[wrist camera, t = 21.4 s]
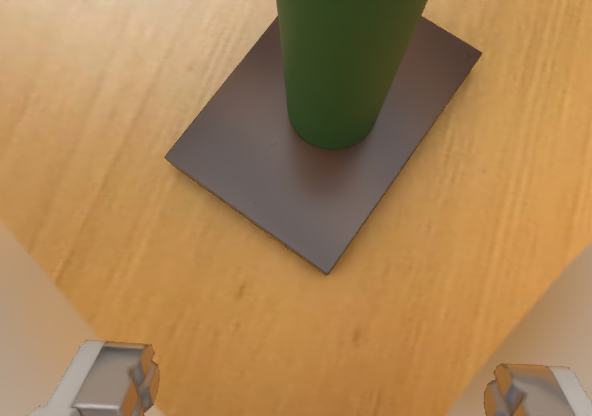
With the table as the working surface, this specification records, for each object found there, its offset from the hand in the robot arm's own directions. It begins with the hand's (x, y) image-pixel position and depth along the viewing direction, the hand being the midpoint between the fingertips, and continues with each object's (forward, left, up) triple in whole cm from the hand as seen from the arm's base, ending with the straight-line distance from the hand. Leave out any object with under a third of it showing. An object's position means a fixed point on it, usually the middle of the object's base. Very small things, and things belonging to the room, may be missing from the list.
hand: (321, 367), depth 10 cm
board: (+9, +6, -11) cm, 15 cm away
